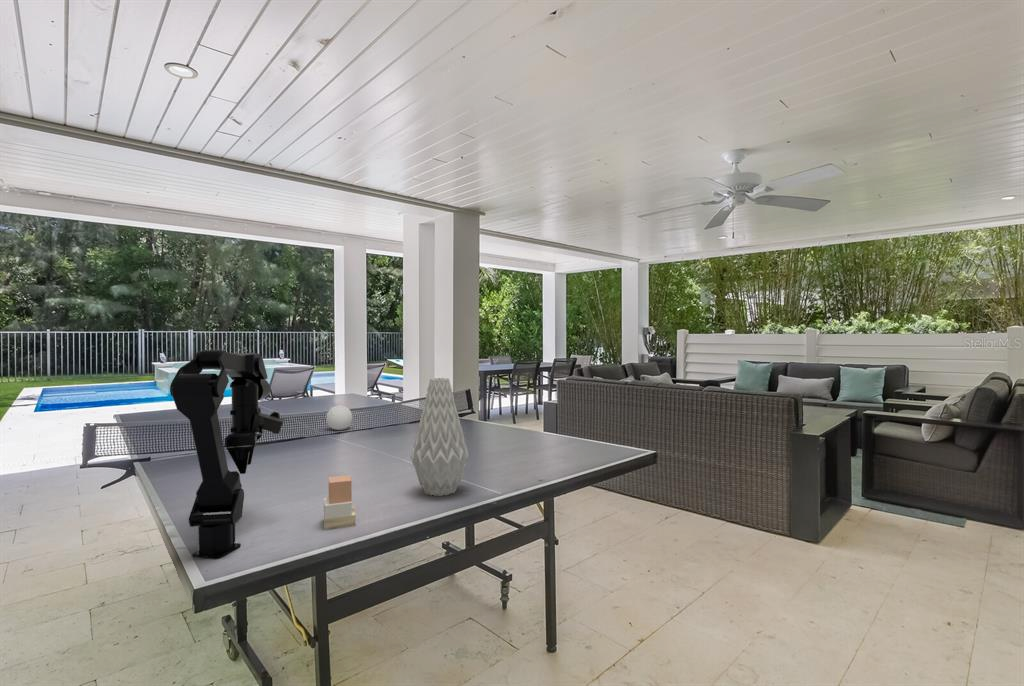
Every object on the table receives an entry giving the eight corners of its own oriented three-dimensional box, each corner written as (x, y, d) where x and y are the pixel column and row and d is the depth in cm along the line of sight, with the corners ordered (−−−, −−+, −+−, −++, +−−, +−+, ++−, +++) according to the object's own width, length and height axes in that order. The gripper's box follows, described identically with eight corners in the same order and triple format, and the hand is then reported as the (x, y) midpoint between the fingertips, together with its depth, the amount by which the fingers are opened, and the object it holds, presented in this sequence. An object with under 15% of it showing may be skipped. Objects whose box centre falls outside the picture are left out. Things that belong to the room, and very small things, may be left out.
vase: (403, 488, 150) (402, 377, 150) (455, 480, 158) (454, 375, 158) (422, 504, 136) (421, 382, 135) (478, 494, 144) (477, 379, 143)
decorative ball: (327, 428, 252) (326, 404, 251) (352, 427, 255) (352, 403, 255) (325, 432, 240) (325, 407, 240) (352, 431, 244) (352, 406, 244)
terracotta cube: (351, 501, 122) (351, 480, 121) (329, 504, 120) (329, 482, 120) (350, 495, 126) (349, 475, 126) (328, 497, 124) (328, 477, 124)
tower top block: (351, 515, 121) (351, 502, 121) (325, 518, 118) (325, 505, 118) (349, 507, 126) (349, 495, 126) (323, 510, 124) (323, 498, 124)
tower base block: (355, 527, 121) (355, 515, 121) (324, 531, 118) (324, 518, 118) (354, 517, 127) (354, 505, 127) (324, 521, 125) (324, 509, 125)
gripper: (278, 407, 117) (279, 475, 117) (284, 398, 135) (284, 457, 135) (223, 410, 113) (224, 480, 113) (236, 400, 131) (237, 461, 131)
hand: (245, 468), depth 123 cm, fingers open, 9 cm apart
